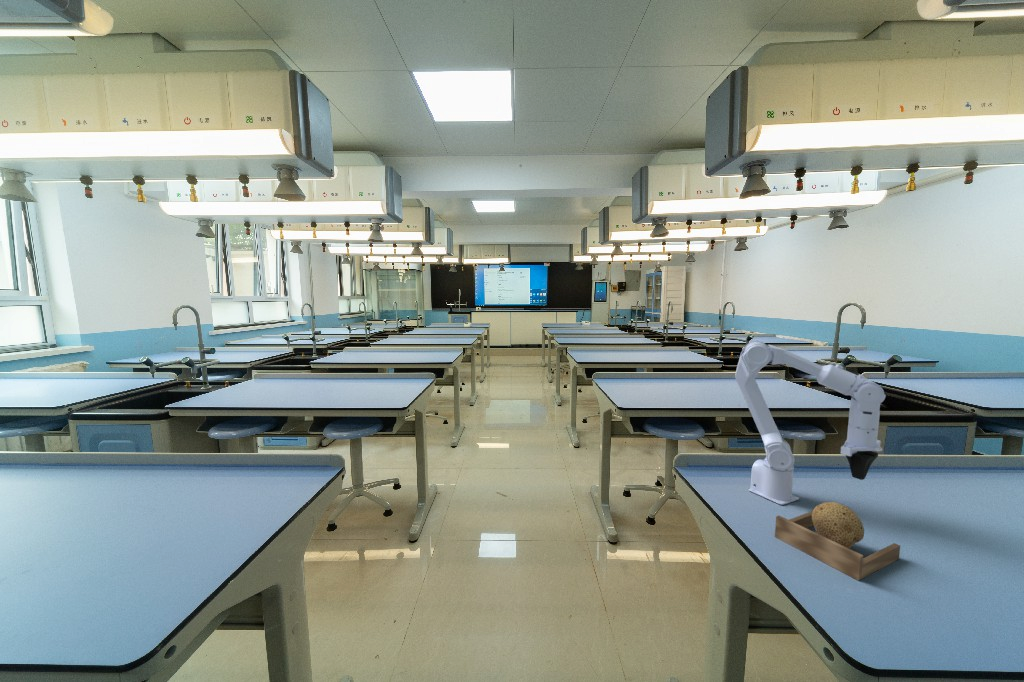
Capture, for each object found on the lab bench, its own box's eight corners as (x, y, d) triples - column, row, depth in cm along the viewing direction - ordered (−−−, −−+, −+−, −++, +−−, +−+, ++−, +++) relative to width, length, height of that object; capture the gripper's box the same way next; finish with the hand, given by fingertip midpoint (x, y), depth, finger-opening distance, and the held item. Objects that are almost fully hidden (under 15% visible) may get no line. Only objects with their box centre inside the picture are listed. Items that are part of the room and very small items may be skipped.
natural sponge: (833, 533, 93) (837, 493, 92) (873, 557, 84) (878, 513, 83) (800, 536, 91) (803, 495, 90) (837, 561, 82) (841, 516, 81)
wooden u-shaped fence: (774, 536, 91) (776, 516, 91) (815, 521, 98) (816, 502, 97) (858, 580, 77) (860, 556, 76) (898, 558, 83) (901, 536, 83)
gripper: (867, 435, 93) (862, 490, 94) (897, 427, 99) (892, 479, 100) (832, 426, 99) (828, 478, 101) (863, 420, 105) (859, 468, 107)
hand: (858, 478), depth 101 cm, fingers closed
